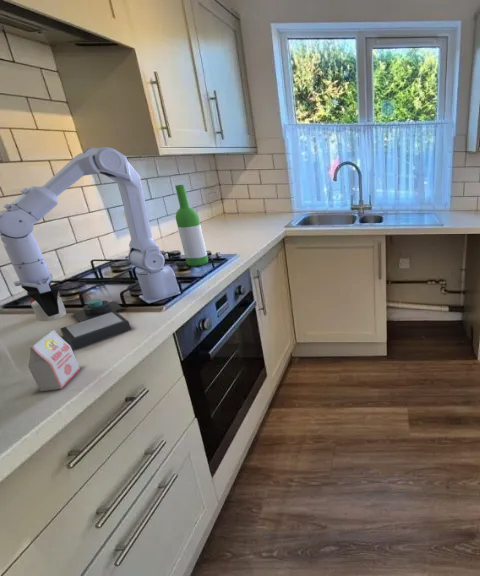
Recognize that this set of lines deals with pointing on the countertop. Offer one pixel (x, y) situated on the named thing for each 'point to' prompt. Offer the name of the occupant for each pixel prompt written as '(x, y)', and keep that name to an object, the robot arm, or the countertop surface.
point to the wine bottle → (190, 231)
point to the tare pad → (97, 310)
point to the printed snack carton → (52, 362)
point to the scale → (95, 329)
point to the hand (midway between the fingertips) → (50, 311)
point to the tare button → (95, 303)
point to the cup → (43, 316)
